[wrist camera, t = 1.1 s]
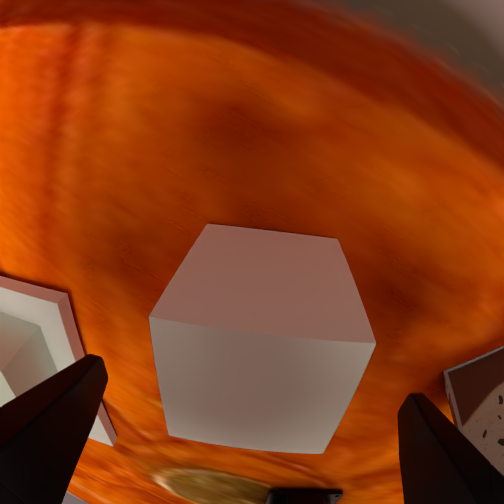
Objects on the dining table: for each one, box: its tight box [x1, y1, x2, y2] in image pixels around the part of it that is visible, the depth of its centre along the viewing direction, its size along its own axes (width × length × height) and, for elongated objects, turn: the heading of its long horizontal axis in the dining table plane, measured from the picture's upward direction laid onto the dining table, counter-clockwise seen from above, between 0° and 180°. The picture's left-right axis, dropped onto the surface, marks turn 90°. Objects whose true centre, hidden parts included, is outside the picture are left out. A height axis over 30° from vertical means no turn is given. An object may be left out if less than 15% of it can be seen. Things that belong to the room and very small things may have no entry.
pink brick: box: [149, 224, 376, 454], centre depth 10 cm, size 5×5×6 cm
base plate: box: [0, 276, 117, 446], centre depth 17 cm, size 14×14×1 cm
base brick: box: [0, 312, 58, 407], centre depth 15 cm, size 10×10×4 cm
